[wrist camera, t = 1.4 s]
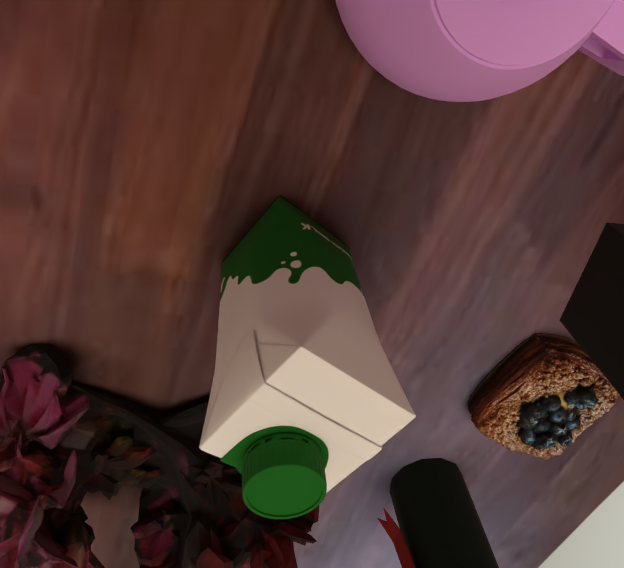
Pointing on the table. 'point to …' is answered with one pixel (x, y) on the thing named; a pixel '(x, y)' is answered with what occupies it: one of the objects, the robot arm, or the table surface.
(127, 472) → the flower arrangement
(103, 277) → the table surface
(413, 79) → the teapot
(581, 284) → the robot arm
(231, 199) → the table surface
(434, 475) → the wine bottle
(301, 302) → the soya milk
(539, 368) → the pastry
